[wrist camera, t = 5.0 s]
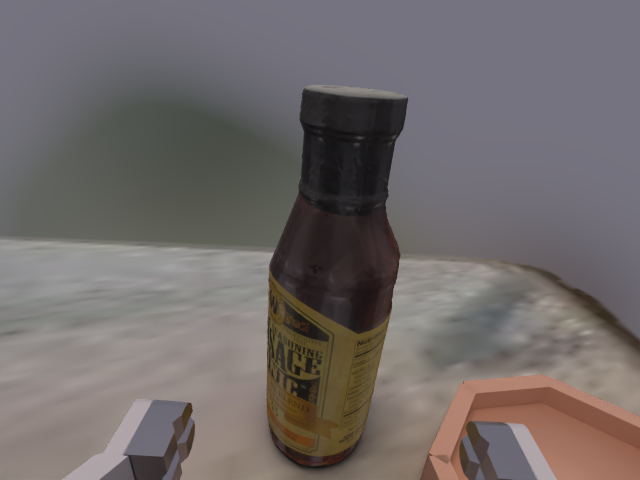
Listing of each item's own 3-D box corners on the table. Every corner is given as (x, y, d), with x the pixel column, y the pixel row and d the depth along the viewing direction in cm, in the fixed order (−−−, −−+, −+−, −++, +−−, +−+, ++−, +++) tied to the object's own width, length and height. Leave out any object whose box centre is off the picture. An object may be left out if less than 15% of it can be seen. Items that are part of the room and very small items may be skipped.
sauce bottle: (253, 404, 23) (244, 79, 15) (334, 374, 26) (365, 86, 17) (292, 502, 18) (311, 88, 9) (387, 452, 21) (469, 96, 12)
